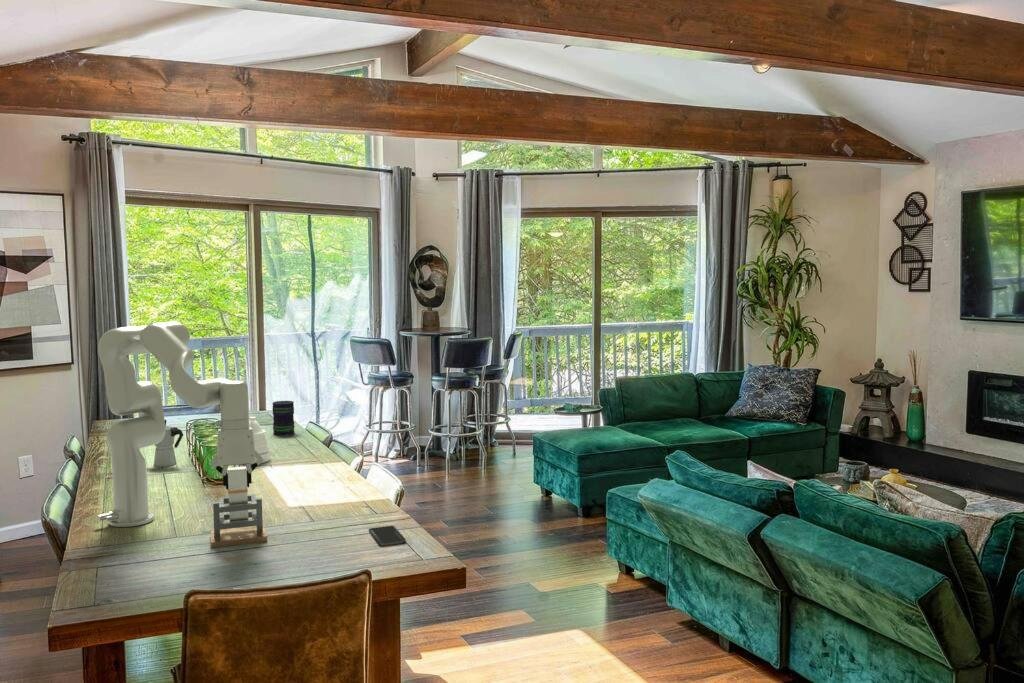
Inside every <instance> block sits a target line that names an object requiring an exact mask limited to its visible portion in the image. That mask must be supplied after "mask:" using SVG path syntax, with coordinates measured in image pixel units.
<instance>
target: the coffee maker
mask: <svg viewBox="0 0 1024 683" xmlns="http://www.w3.org/2000/svg"><path fill="white" fill-rule="evenodd" d="M164 420H165V436H164V438H163V440H162V441H161V442H159V443H157V444H155V445H154V446H155V451H154V460H153V467H157V468H158V467H159V468H165V467H172V466H175V465H177V464H178V463H177V458H176V454H175V449H177V448H178V446H179V445H180V443H181V441H182V439H183V436H184V433H183V431H182V429H181V428H180V429H179V428H178V427H175V426H174V427H173V426H170V425H167V421H168V420H167V419H164ZM178 435H179V436H178ZM175 436H178V438H177V440H176V442H175ZM174 448H175V449H174Z"/></svg>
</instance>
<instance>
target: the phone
mask: <svg viewBox="0 0 1024 683" xmlns="http://www.w3.org/2000/svg"><path fill="white" fill-rule="evenodd" d="M368 534H369V535H370V536H371V538H373V540H374V542H375V543H376V545H378V547H381V548H382V547H383V548H384V547H391V546H397V545H398V546H399V545H405V544H406V542H407V540H406V538H405V537H404V535H403V534H401V532H400V531H399V530H398V529H397V527H396V526H395V525H388V526H387V525H386V526H380V527H378V526H377V527H371V528H369V529H368Z"/></svg>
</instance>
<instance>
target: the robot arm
mask: <svg viewBox="0 0 1024 683" xmlns="http://www.w3.org/2000/svg"><path fill="white" fill-rule="evenodd" d="M190 337H191V336H190V332H189V330H188V327H186V326H185V325H184V324H183V323H182V322H179V321H163V322H154V323H150V324H148V325H147V324H146V325H136V326H133V325H132V326H131V325H130V326H121V327H117V328H116V327H115V328H112V329H109V330H107V331H105V332H104V333H103V334H102V335H101V337H100V339H99V341H98V346H97V352H98V356H99V359H100V364H101V365H102V369H103V374H104V382H105V391H106V397H107V404H108V409H109V410H110V412H111V413H112V414H113V415H116V416H128V415H135V414H138V416H137V417H132V418H127V419H122V420H119V421H116V422H115V423H113V424H112V425H110V427H109V428H108V429H107V432H106V440H107V445H108V448H109V452H110V459H111V470H112V471H111V472H112V474H111V475H112V491H113V492H112V493H113V496H112V497H113V508H110V511H108V512H106V513H101V514H98V515H97V517H96V518H97V521H98V522H103V521H106V522H108V524H109V525H110V526H111V527H116V528H129V527H130V528H131V527H137V526H141V525H146V524H148V523H151V522H153V520H154V519H155V514H154V513H152V512H150V511H149V493H148V490H149V489H148V470H147V469H148V468H147V462H146V459H145V457H144V455H143V454H142V452H141V450H140V449H143V448H146V447H151V446H155V444H157V443H159V442H161V441H162V440H163V438H164V436H165V420H166V419H165V414H164V413H165V412H164V404H163V398H162V394H161V391H160V389H159V387H158V386H157V385H156V384H155V383H154V382H153V381H148V380H142V381H137V375H136V370H135V367H134V365H133V364H132V361H131V360H130V359H129V357H127V356H132V355H140V354H149V353H150V354H151V355H152V356H153V357H155V358H156V360H158V362H160V363H161V364H162V366H164V368H166V369H167V370H168V371H169V372H168V379H169V384H170V387H171V388H172V391H173V392H174V393H175V395H176V396H177V397H178V398H179V399H181V401H182V402H184V403H185V404H187V405H188V406H189V407H191V408H193V409H203V408H207V407H208V408H209V407H212V406H219V405H220V420H218V421H215V427H220V428H221V429H219V430H218V432H217V433H218V434H217V443H216V444H217V448H216V449H217V450H216V451H217V453H216V454H214V456H213V458H212V459H210V461H209V463H208V464H209V466H210V467H211V468H213V469H215V470H216V471H217V472H218V473H220V474H221V475H222V483H223V487H225V489H226V490H228V468H229V467H230V466H241V465H244V466H246V470H247V488H250V484H252V483H253V482H252V480H253V479H252V478H253V477H252V473H253V472H254V470H255V469H256V468H257V467H258V466H259V465H260V464H262V462H263V458H262V457H261V456H260V455H259V453H258V452H257V451H256V450H255V443H254V435H253V430H252V428H251V427H249V421H250V419H249V417H250V415H249V413H250V412H249V388H248V384H247V382H246V381H245V380H230V379H227V378H221V377H220V378H218V377H217V378H212V379H206V380H199V381H196V380H195V379H194V377H192V376H191V375H190V374H189V373H188V371H187V370H188V369H190V367H191V365H192V364H193V362H194V359H195V353H194V352H193V350H192V349H191V348H190V347H188V344H189V343H190V340H191V338H190ZM255 457H256V458H257V460H256V461H255ZM254 461H255V462H254ZM253 462H254V463H253ZM251 463H253V464H251ZM263 463H264V462H263Z"/></svg>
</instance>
